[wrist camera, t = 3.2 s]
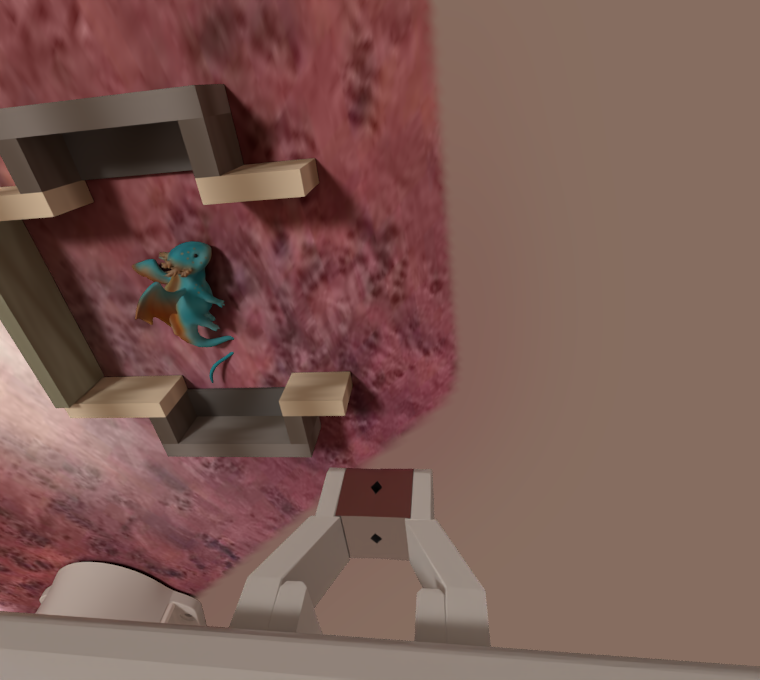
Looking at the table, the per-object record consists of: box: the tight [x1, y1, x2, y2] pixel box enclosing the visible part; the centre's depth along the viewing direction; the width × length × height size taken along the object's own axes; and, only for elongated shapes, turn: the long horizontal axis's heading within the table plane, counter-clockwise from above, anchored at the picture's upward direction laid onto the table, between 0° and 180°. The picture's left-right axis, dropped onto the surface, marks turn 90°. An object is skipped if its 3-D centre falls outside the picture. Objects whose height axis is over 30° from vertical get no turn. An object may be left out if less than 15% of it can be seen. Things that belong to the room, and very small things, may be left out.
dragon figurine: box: [132, 241, 234, 383], centre depth 26 cm, size 6×7×8 cm
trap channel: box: [0, 84, 352, 457], centre depth 25 cm, size 19×22×4 cm
